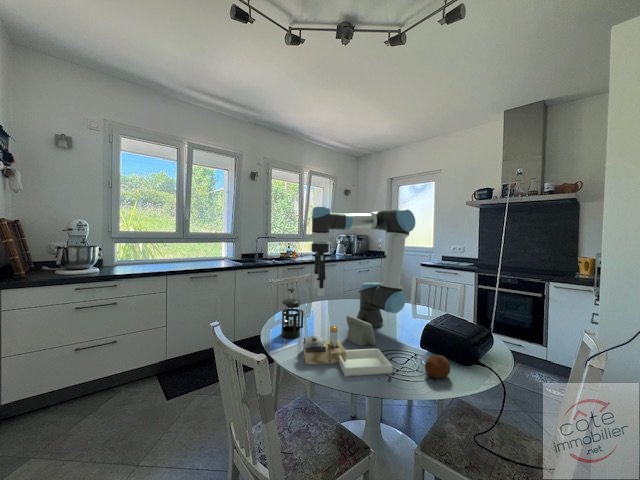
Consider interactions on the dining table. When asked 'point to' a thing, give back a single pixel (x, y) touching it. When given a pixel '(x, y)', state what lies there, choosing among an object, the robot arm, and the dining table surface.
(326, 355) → the wooden holder
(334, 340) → the pin
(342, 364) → the tray
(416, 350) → the dining table surface
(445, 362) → the potato
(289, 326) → the french press
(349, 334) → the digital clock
